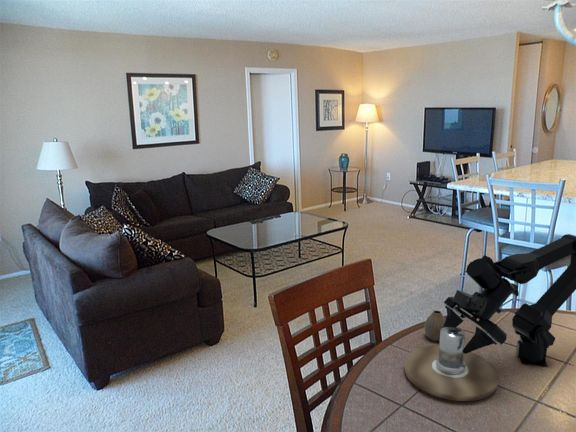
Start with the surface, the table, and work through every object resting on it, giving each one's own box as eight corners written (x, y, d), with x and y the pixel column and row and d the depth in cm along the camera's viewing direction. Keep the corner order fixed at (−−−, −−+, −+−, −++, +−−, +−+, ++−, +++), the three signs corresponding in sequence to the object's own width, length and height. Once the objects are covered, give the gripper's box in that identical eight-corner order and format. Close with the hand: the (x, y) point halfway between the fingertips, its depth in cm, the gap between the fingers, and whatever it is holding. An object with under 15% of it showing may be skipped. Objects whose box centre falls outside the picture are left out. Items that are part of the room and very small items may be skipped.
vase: (444, 332, 140) (446, 307, 138) (450, 344, 133) (451, 317, 131) (422, 332, 141) (423, 306, 139) (426, 343, 134) (427, 316, 132)
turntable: (489, 357, 125) (490, 349, 124) (505, 410, 103) (506, 400, 103) (405, 348, 131) (405, 341, 130) (403, 396, 110) (403, 387, 109)
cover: (463, 361, 119) (465, 327, 117) (466, 376, 112) (469, 340, 110) (435, 358, 121) (437, 324, 119) (436, 373, 114) (438, 337, 112)
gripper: (451, 268, 121) (414, 311, 121) (500, 294, 104) (456, 345, 104) (474, 291, 125) (438, 333, 125) (525, 320, 108) (483, 369, 107)
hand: (452, 343), depth 115 cm, fingers open, 9 cm apart
